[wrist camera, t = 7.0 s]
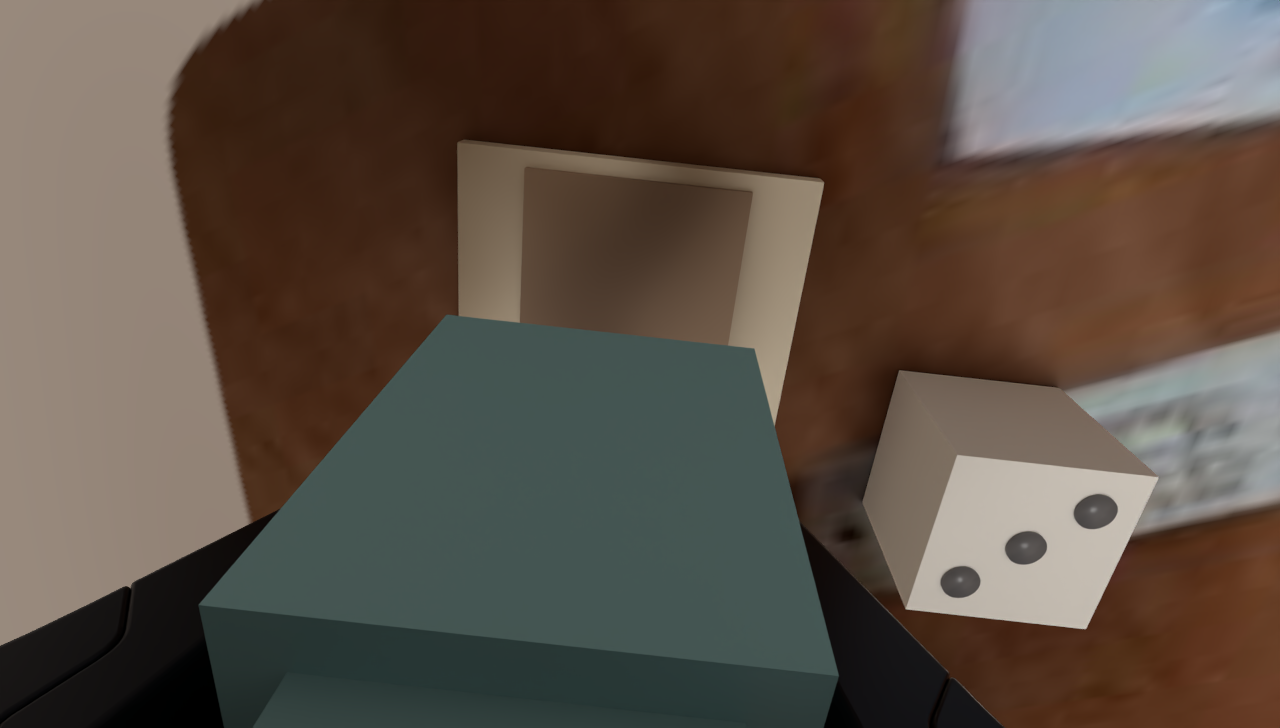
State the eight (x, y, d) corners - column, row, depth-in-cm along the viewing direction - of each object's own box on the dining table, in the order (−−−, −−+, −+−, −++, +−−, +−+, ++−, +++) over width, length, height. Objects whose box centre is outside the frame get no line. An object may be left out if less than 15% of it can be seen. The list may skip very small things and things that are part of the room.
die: (1058, 387, 20) (1160, 479, 16) (1008, 518, 22) (1087, 632, 17) (899, 370, 20) (959, 457, 16) (862, 502, 22) (906, 611, 17)
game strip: (819, 178, 18) (825, 184, 17) (707, 736, 26) (708, 755, 25) (464, 139, 18) (455, 143, 17) (466, 709, 26) (460, 728, 25)
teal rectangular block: (754, 348, 9) (871, 802, 4) (710, 588, 11) (746, 1149, 5) (446, 314, 9) (102, 715, 4) (450, 559, 11) (217, 1087, 5)
